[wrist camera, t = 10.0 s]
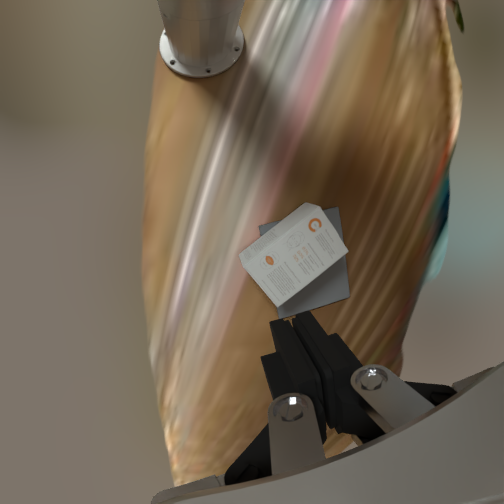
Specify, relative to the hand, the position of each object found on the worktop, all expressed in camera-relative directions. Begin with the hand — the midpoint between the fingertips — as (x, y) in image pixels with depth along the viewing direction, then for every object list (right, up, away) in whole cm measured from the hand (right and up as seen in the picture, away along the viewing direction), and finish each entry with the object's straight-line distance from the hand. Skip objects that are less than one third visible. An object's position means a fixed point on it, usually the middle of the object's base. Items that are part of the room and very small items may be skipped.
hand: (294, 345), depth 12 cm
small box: (-1, 0, +31) cm, 31 cm away
